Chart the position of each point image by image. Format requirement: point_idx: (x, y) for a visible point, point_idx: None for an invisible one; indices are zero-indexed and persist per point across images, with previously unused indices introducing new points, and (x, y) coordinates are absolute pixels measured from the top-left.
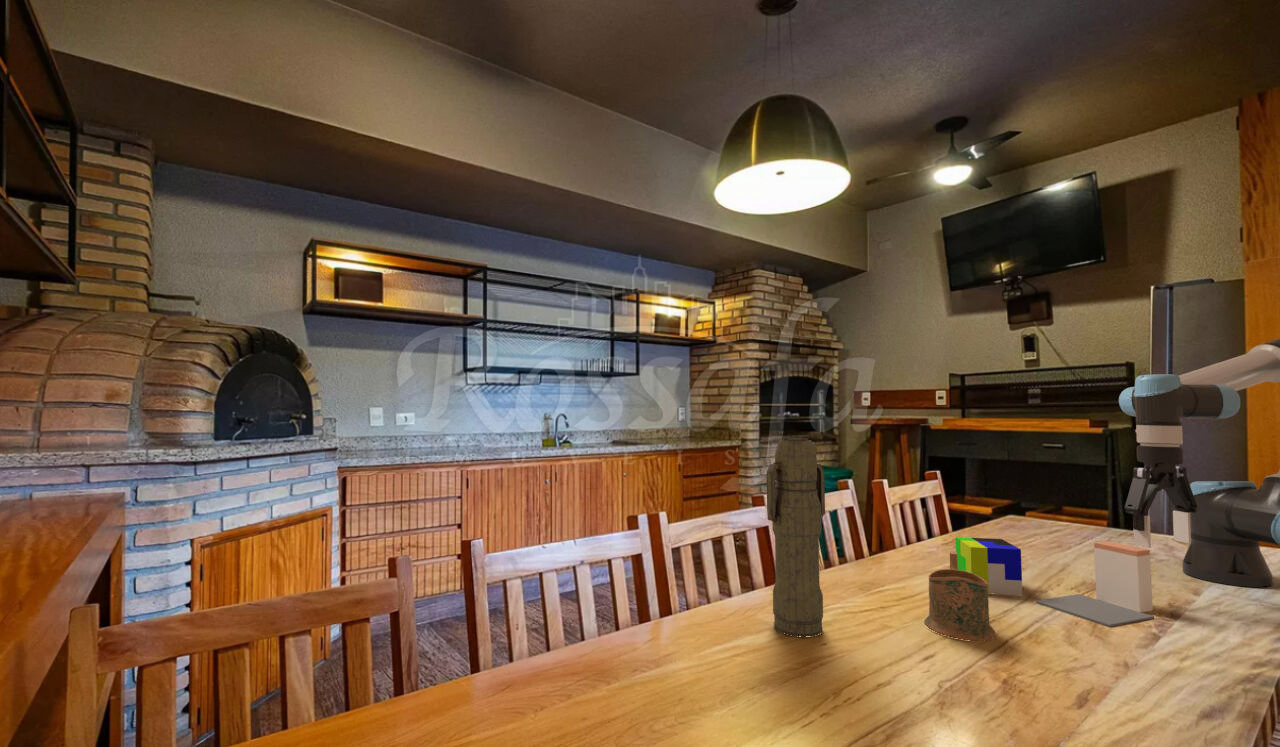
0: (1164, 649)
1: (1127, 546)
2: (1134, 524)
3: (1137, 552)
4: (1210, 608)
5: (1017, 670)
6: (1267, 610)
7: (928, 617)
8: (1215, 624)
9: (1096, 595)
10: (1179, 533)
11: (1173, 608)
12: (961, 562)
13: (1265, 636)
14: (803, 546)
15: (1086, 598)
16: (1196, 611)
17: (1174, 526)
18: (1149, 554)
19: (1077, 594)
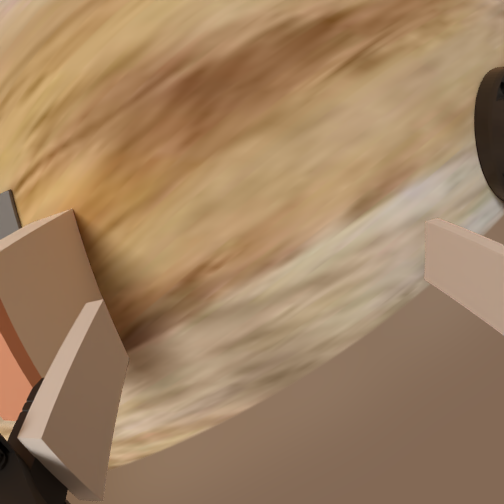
0: (13, 424)
1: (4, 368)
2: (29, 407)
3: (6, 417)
4: (269, 310)
5: None
6: (376, 324)
7: None
8: (169, 386)
9: (24, 226)
10: (450, 259)
11: (171, 302)
12: None
13: (202, 428)
14: None
15: (4, 227)
16: (209, 325)
17: (476, 249)
18: None
19: (4, 193)
